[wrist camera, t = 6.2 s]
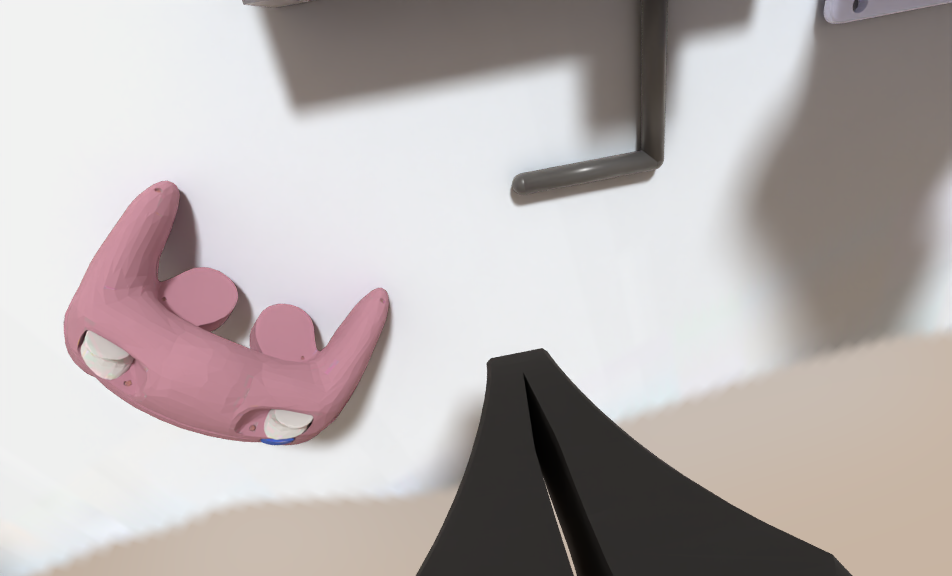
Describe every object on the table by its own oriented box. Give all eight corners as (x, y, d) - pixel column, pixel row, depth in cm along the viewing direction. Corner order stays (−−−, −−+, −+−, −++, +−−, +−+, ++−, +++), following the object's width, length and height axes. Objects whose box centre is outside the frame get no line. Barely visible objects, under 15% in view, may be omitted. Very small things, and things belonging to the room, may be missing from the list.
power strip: (798, -316, 13) (1080, -569, 8) (748, 147, 19) (884, 199, 14) (207, -207, 13) (46, -381, 7) (344, 225, 19) (313, 310, 13)
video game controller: (144, 231, 20) (16, 384, 16) (153, 158, 17) (-6, 325, 12) (364, 333, 23) (309, 482, 19) (406, 288, 20) (352, 456, 16)
